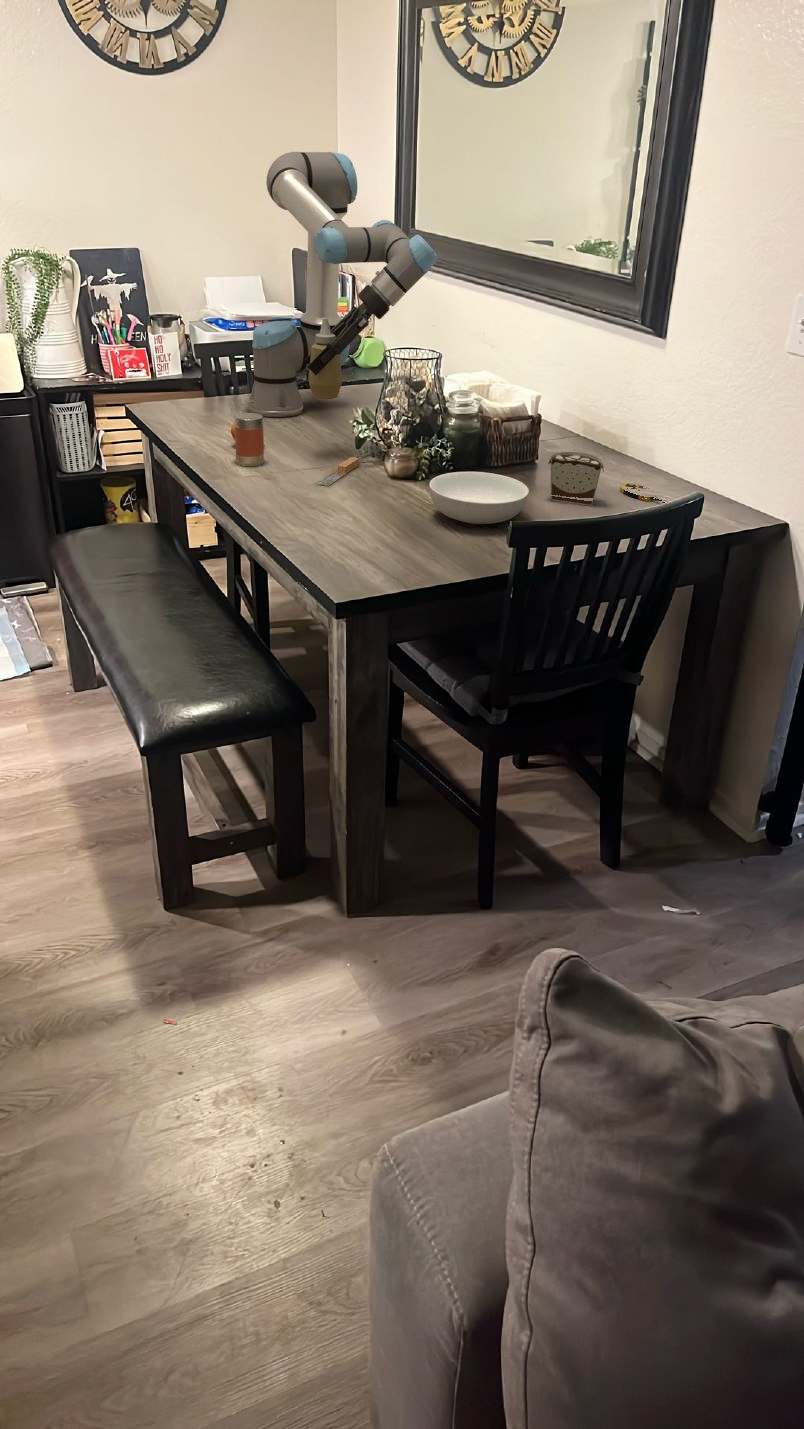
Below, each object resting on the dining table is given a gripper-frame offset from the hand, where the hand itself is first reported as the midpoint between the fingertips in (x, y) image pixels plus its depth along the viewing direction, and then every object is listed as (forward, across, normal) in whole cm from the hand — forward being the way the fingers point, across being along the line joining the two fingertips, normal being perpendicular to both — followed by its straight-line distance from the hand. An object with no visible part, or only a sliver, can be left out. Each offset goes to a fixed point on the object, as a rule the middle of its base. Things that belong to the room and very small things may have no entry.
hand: (310, 367), depth 252 cm
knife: (+11, +17, +18) cm, 27 cm away
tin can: (+25, +6, +4) cm, 26 cm away
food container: (-25, +37, +54) cm, 70 cm away
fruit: (+26, -8, +4) cm, 27 cm away
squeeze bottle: (+3, 0, +8) cm, 8 cm away
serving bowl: (-7, +48, +37) cm, 61 cm away
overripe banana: (-37, +38, +66) cm, 85 cm away
